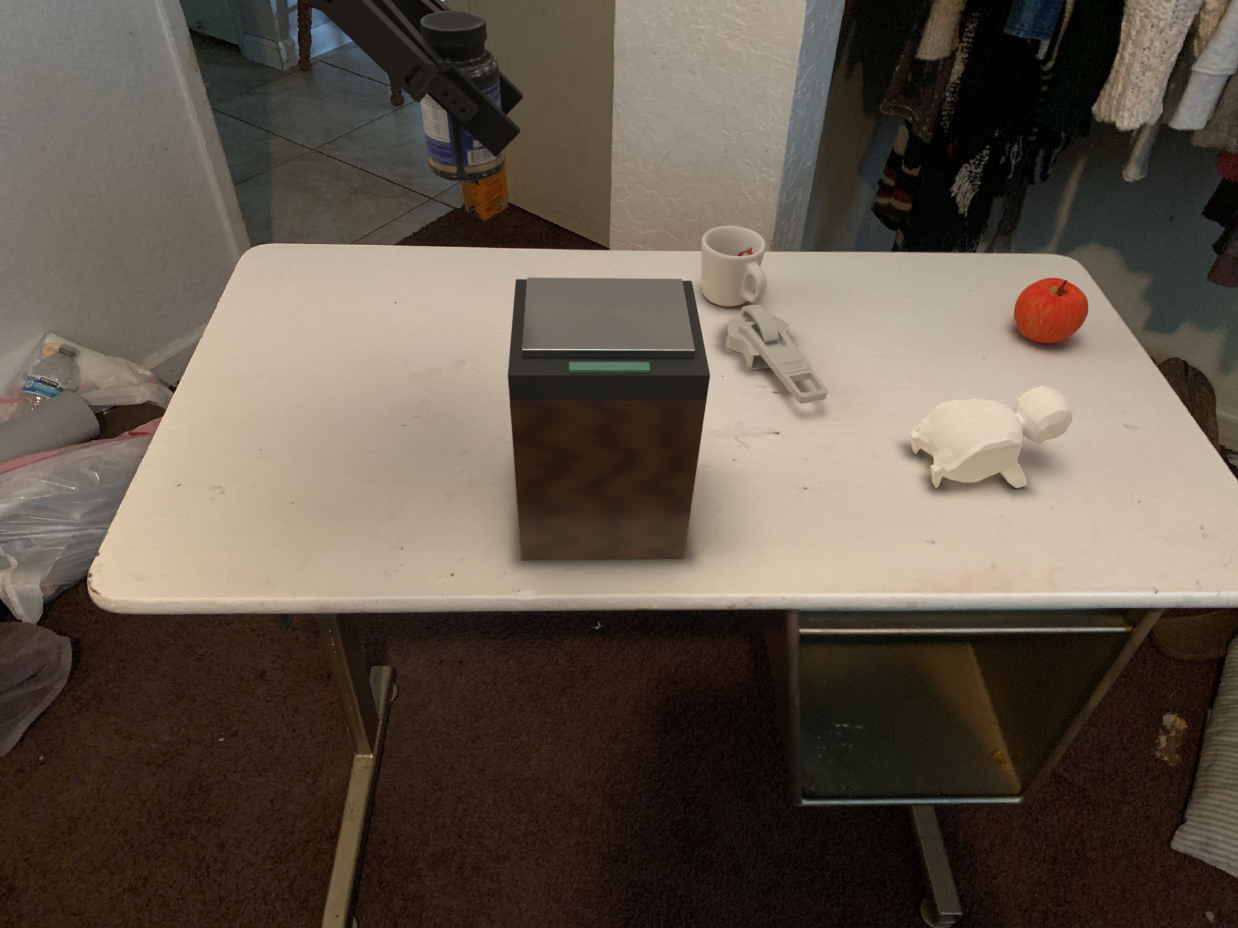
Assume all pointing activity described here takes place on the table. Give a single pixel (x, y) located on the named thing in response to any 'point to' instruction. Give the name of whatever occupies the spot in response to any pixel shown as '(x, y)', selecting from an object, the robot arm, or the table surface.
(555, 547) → the stand
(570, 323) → the scale
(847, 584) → the table surface
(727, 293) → the cup
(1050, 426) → the white turtle figurine
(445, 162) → the pill bottle
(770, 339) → the zipper pull
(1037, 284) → the apple
